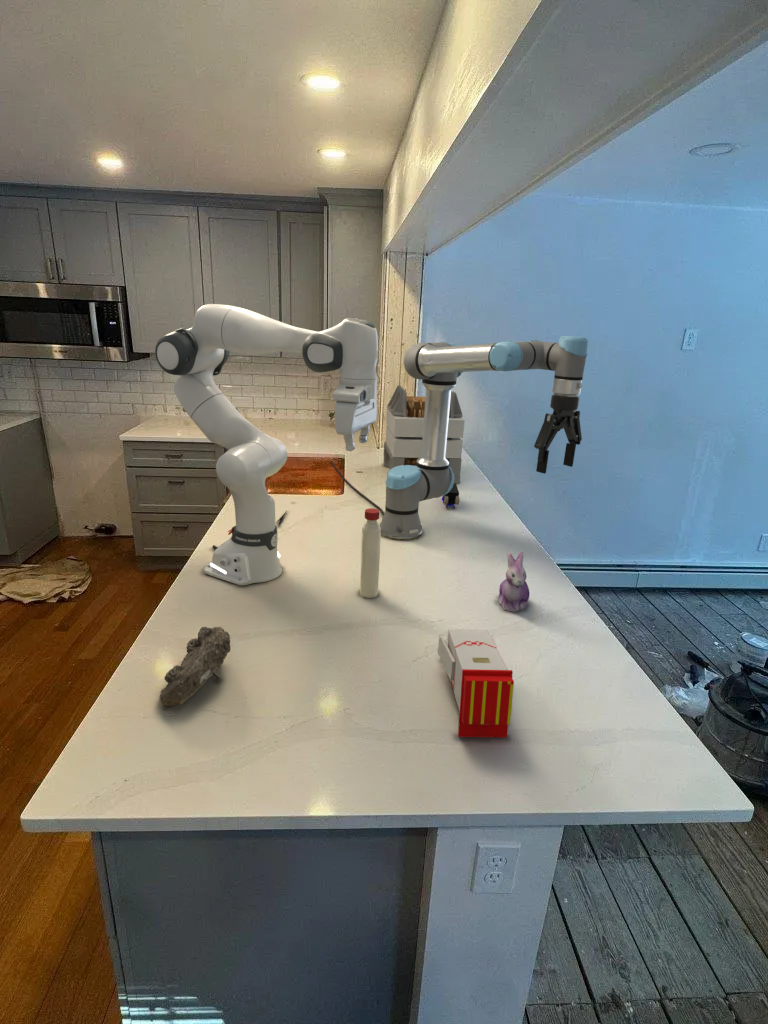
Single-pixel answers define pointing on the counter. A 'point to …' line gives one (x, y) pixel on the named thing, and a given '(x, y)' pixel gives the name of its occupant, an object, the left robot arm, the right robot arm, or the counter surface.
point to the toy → (478, 682)
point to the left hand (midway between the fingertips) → (356, 446)
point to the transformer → (418, 431)
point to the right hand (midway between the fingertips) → (554, 469)
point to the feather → (281, 518)
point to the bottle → (370, 559)
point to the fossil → (196, 665)
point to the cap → (372, 514)
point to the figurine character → (451, 497)
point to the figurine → (514, 585)
